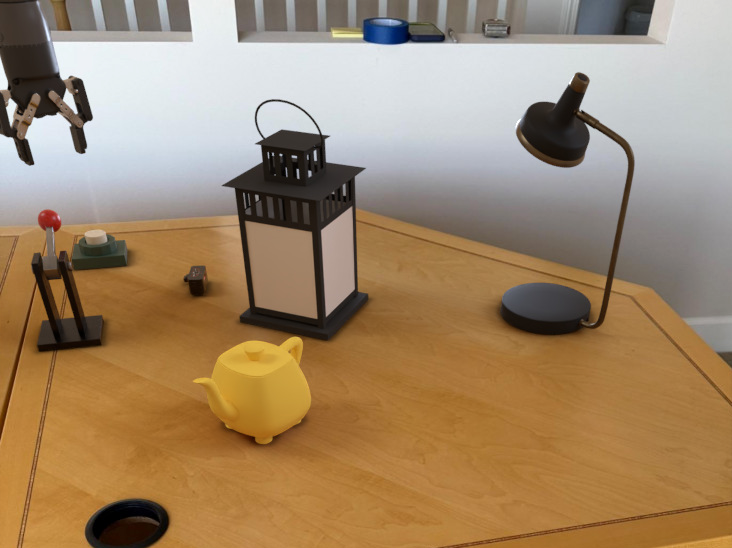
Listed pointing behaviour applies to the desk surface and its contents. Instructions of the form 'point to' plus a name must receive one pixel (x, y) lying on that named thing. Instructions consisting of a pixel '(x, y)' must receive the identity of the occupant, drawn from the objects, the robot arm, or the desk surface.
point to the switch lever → (50, 243)
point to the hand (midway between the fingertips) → (55, 158)
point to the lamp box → (99, 254)
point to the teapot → (259, 388)
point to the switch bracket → (68, 329)
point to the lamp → (562, 149)
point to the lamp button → (95, 237)
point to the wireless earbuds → (197, 280)
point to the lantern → (298, 236)
